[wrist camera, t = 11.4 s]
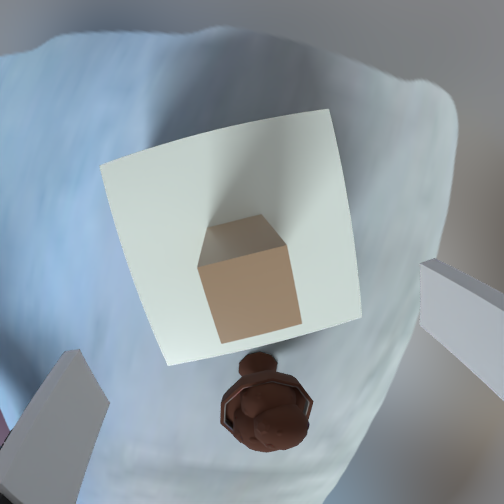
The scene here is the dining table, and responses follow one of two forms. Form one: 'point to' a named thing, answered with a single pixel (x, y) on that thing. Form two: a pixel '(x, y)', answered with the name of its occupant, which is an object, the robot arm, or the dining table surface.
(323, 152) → the white box with knob
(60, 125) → the dining table surface
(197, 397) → the dining table surface
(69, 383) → the robot arm
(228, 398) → the ice cream bowl
